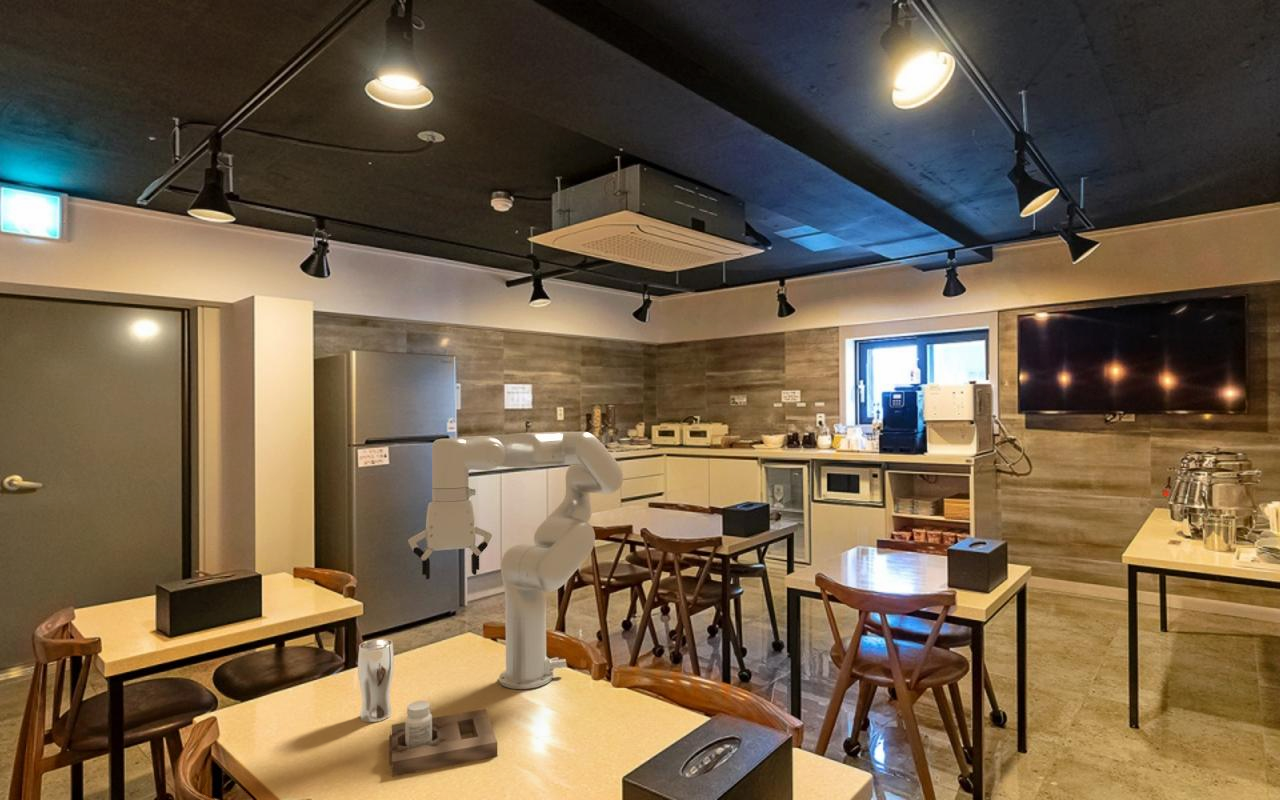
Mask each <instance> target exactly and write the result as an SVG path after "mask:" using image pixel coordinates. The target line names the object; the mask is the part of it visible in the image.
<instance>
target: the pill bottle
mask: <svg viewBox="0 0 1280 800" xmlns="http://www.w3.org/2000/svg"><path fill="white" fill-rule="evenodd" d="M406 712H407V713H406V714H407V716H406V718H405V719H404V720H405V722H404V723H405V744H406V746H405V747H409V748H412V747H417V746H423V745H427V744H429V743H430V742H432V718H433V715H432V713H431V704H430V702H429V701H427V700H418V701H414V702H411V703H409V704H408V705H407V707H406Z"/></svg>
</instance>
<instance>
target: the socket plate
mask: <svg viewBox="0 0 1280 800" xmlns="http://www.w3.org/2000/svg"><path fill="white" fill-rule="evenodd" d="M487 711H488V710H487V708H484V709H476V710H471V711H465V712H460V713H453V714H447V715H442V716H436V717H435V716H434V717H432V742H430V743H429V744H427V745H423V746H417V747H412V748H409V747H406V744H405V722H400V723H394V724H391V734H390V735H389V736H388V738H389V740H388V747H389V748H388V749H390V750H389V751H388V754H389V755H388V756H389V757H388V759H389V761H388V762H389V763H388V764H389V765H391V776H393V777H396V775H398V776H402V775H409V774H413V773H418V772H422V771H427V770H432V769H439V768H442V767H448V766H453V765H458V764H463V763H467V762H472V761H479V760H482V759H483V760H484V759H488V758H493V757H498V740H497V737H496V734H495V731H494V729H493V726H492V723H491V720H490V717H489V714H488V712H487ZM468 733H473V736H474V737H469V738H462V736H461V734H468Z"/></svg>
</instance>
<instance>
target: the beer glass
mask: <svg viewBox="0 0 1280 800" xmlns="http://www.w3.org/2000/svg"><path fill="white" fill-rule="evenodd" d="M393 643H394V641H393V640H392V639H389V638H374V639H370V640H366V641H363V642H361V643H360V644H359V645H358V649H359V650H358V658H357V663H358V664H357V674H358V680H359V681H358V682H359V686H360V693H361V698H362V699H361V701H362V703H361V705H362V706H361V711H360V717H359V718H360V721H362V723H368V722H369V723H371V722H372V723H378V722H381V720H382V721H384V719H385V720H387V719H388V718H390V717H391V716H392V714H393V713H392V707H391V701H390V699H391V698H390V697H391V696H390V693H391V687H392V682H393V681H392V680H393V676H394V675H393V673H394V666H395V661H394V657H395V656H394V655H395V654H394V646H393ZM389 716H390V717H389ZM386 718H387V719H386Z"/></svg>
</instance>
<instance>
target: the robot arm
mask: <svg viewBox="0 0 1280 800" xmlns="http://www.w3.org/2000/svg"><path fill="white" fill-rule="evenodd" d="M431 451H432V452H431V460H432V462H431V465H432V466H431V467H432V470H431V473H432V474H431V475H432V477H431V478H432V480H431V485H432V489H431V491H432V492H431V493H432V501H430V502H429V503H428V505H427V510H426V521H425V529H424V530H423V531H421V532H419V533H418V534H416V535H414V536H412V537H410V538H409V539H407V542H408V545H409V546H410V548H411V550H412V552H413V553H414V554H415V555H416V556H417V557H419V559H421V573H422V576H425V580H430V577H431V576H430V575H431V574H430V572H431V567H430V566H431V563H430V562H431V561H430V560H431V559H430V558H429V557H430V556H431V555H432V553H433V552H434V551H436V552H437V551H447V550H449V551H451V550H461V549H468V548H469V550H471V551H472V554H471V557H470V558H471V561H470V562H471V566H470V567H471V574H472V575H473V576H477V571H478V570H480V556H481V554H483V552H484V551H485V549H487V547H488V545H489V543H490V541H491V539H492V537H493V534H492V533H491V532H489V531H487V530H484V529H482V528H480V527H477V526H476V523H475V521H476V519H475V513H474V506H473V502H472V500H471V499H470V498H471V497H472V496H476V489H475V488H470V486H469V484H470V482H469V470H475V471H490V470H494V469H497V468H498V467H500V468H501V467H505V468H514V469H531V468H532V469H533V468H543V467H555V466H557V467H558V466H568V468H567V470H566V474H565V495H564V499H563V500H562V502H561V503H560V504H559V505H558V506H557V507H556V509H554V511H552V512H551V514H549V516H548V517H546V518H545V519H544V520H543V521H542V522H541V524H539V526H538V527H537V528H536V530H535V533H534V535H533V543H534V545H532V544H526V543H525V544H524V543H522V544H516V545H513V546H511V547H510V548H508V549H507V550H506V551H505V553H504V554H503V557H502V558H501V561H500V562H501V563H500V573H501V578H502V584H503V590H504V602H505V669H504V670H503V671H502V672H501V673H500V674H499V676H498V678H499V679H498V680H499V682H498V683H499V684H500V685H501V686H504V687H505V688H508V689H512V690H513V689H514V690H528V689H534V688H539V687H542V686H544V685H547V684H549V682H551V681H552V680H553V678H554V669H561V668H562V669H563V668H567V659H566V658H562V659H561V658H560V659H559V657H558V656H556V657H552V658H549V657H548V656H547V601H546V597H545V596H546V595H545V592H554V591H556V590H559V589H560V588H562V587H563V586H564V585H565V583H567V581H568V580H570V579H571V577H572V576H573V575H574V574H575V572H576V571H578V569H579V568H580V567H581V566H582V565H583V563H584V562H585V561H586V560H587V559H588V557H590V555H591V553H592V551H593V549H594V546H595V544H596V543H595V542H596V534H595V530H594V527H593V526H592V525H591V524H590V523H589V521H590V520H591V518H592V514H593V508H592V500H591V499H592V498H591V494H604V495H610V494H611V495H612V494H614V493H616V492H617V491H619V490H620V489H621V487H622V485H623V482H624V474H623V470H622V468H621V466H620V464H619V462H617V461H618V460H616V458H615V457H613V455H612V454H611V453H610V451H609V450H608V449H607V448H606V446H605V445H604V444H603V443H602V442H601V441H600V440H599V438H597V437H596V436H595V435H594V434H592V433H590V432H588V431H549V432H548V431H544V432H519V433H509V434H501V435H498V434H497V435H478V436H477V435H476V436H475V435H474V436H473V435H472V436H471V435H469V436H466V435H465V436H459V437H457V438H456V437H455V438H453V437H452V438H448V437H447V438H439V439H436V440H434V441H433V443H432V448H431ZM476 535H479V536H481V537H483V539H482V542H481V543H480V544H479V545H478V546H477V545H476ZM423 539H425V545H426V547H425V548H424V550H422V549H421V548H420V547H419V546H418V542H420V541H421V540H423Z"/></svg>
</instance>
